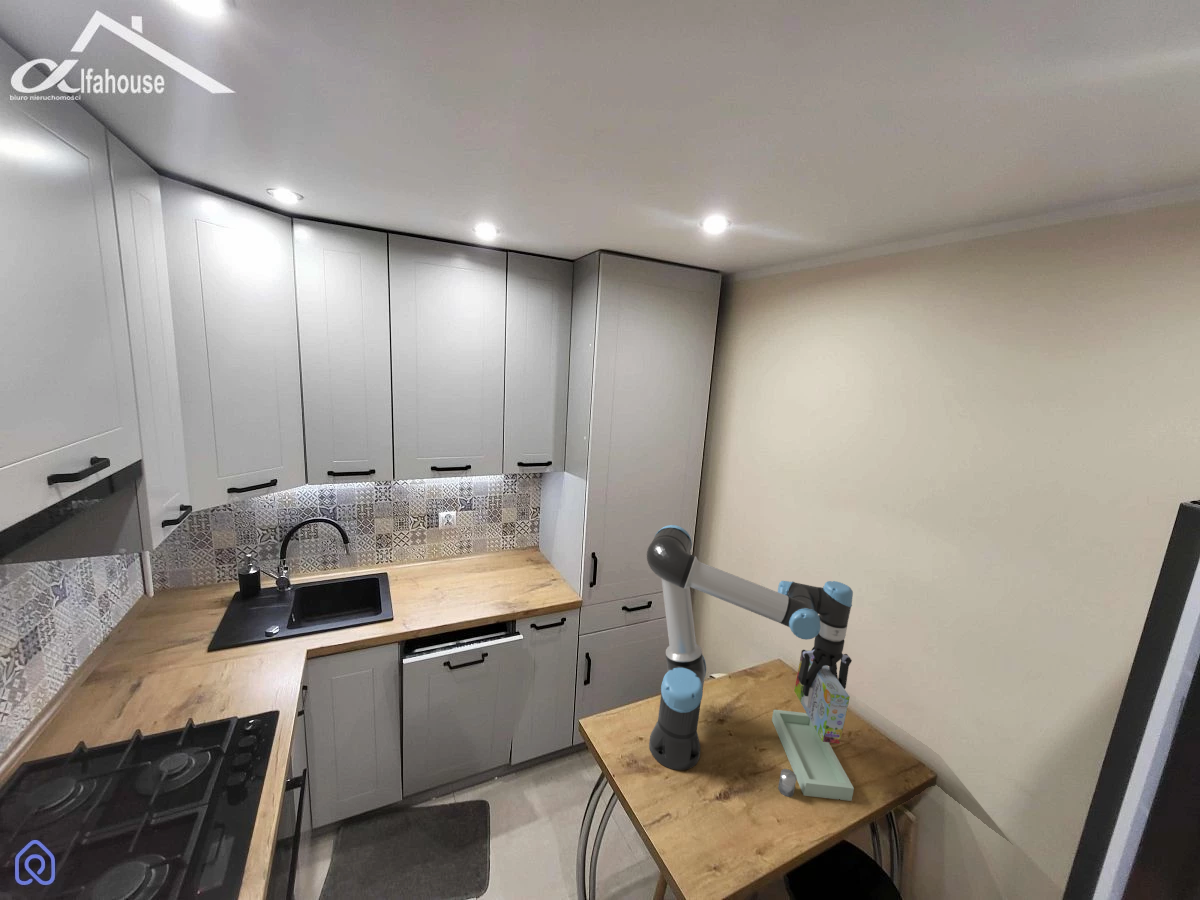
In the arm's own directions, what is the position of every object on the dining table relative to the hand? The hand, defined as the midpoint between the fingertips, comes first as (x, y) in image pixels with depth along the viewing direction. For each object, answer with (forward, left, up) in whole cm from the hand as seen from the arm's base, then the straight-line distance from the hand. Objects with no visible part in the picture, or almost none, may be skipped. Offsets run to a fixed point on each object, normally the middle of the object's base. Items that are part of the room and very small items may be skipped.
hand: (817, 705), depth 139 cm
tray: (0, 0, -18) cm, 18 cm away
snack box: (0, 0, -4) cm, 4 cm away
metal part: (-11, -13, -18) cm, 24 cm away
